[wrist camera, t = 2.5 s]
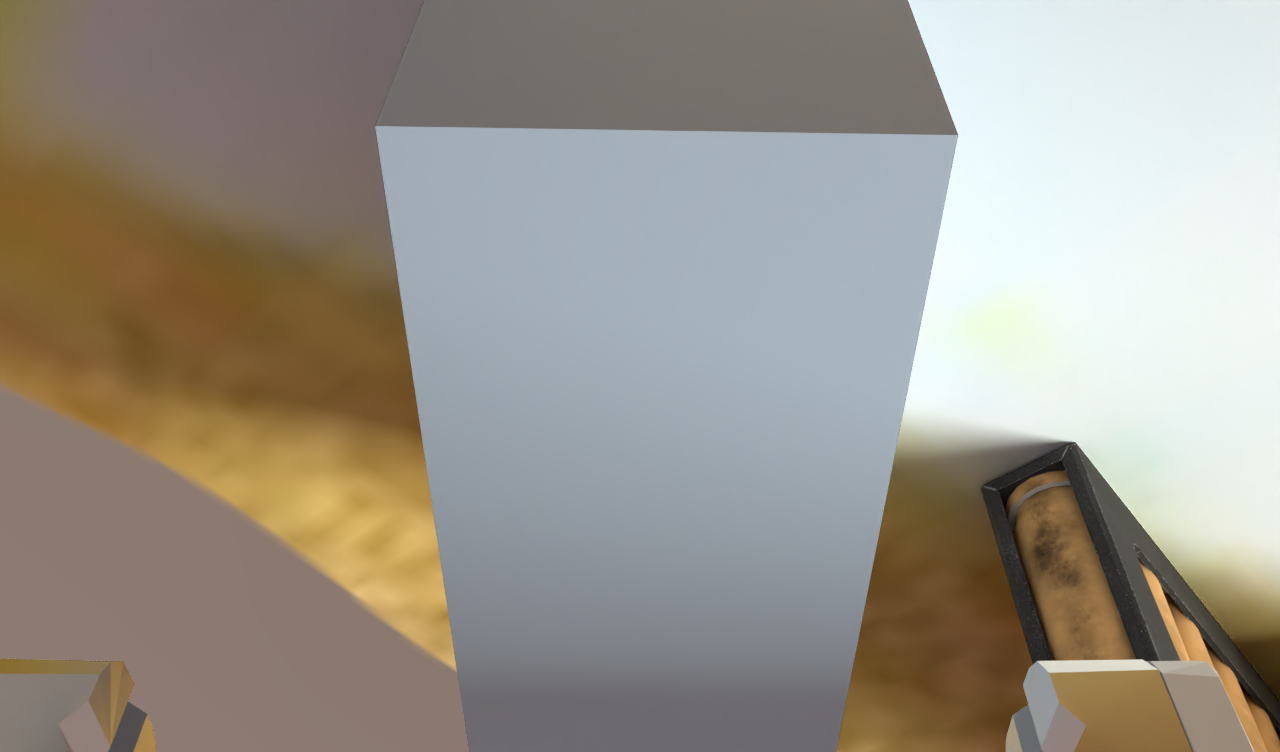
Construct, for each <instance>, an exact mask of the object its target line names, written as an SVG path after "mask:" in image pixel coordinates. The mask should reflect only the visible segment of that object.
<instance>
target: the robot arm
mask: <svg viewBox="0 0 1280 752" xmlns="http://www.w3.org/2000/svg"><path fill="white" fill-rule="evenodd" d="M133 686H134V682H133V680H132V678H131V676H130V674H129V672H128V670H127V668H126V666H125V664H124V662H123V661H84V660H83V661H82V660H34V659H6V658H5V659H4V658H2V659H1V658H0V752H156V744H155V736H154V730H153V727H152V725H151V723H150V720H149V717H148V715H147V714H146V713H145V712H143V711H142V710H140V709H139V708H137V707H135V706H134V705H133V704H131V703H130V702H128V700H129V697H130V694H131V692H132V689H133ZM1023 688H1024V691H1025V695H1026V698H1027V702H1028V705H1027V706H1025V707H1024V708H1022V709H1021V710H1019V711H1018V712H1017V713H1015V714H1014V715H1012V719H1011V722H1010V726H1009V729H1008V733H1007V736H1006V752H1254V749H1253V747H1252V745H1251V743H1250V741H1249V739H1248V737H1247V734H1246V732H1245V730H1244V728H1243V726H1242V724H1241V722H1240V719H1239V717H1238V715H1237V713H1236V711H1235V709H1234V707H1233V705H1232V702H1231V700H1230V698H1229V696H1228V694H1227V692H1226V690H1225V687H1224V685H1223V683H1222V681H1221V679H1220V677H1219V675H1218V672H1217V671H1216V670H1215V669H1214V668H1213V667H1212V666H1211V665H1210V664H1209V663H1208V662H1205V661H1147V662H1146V661H1144V660H1143V659H1139V660H1066V661H1037V662H1035V663H1034V664H1033V665H1032V666H1031V667H1030V668H1029V669H1028V672H1027V675H1026V678H1025V680H1024V683H1023Z"/></svg>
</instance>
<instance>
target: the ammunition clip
mask: <svg viewBox="0 0 1280 752" xmlns="http://www.w3.org/2000/svg"><path fill="white" fill-rule="evenodd" d="M981 491H982V494H983V497H984V501H985V504H986V507H987V511H988V514H989V518H990V521H991V524H992V528H993V531H994V534H995V538H996V541H997V544H998V548H999V551H1000V555H1001V558H1002V561H1003V565H1004V568H1005V571H1006V575H1007V578H1008V582H1009V585H1010V588H1011V592H1012V595H1013V598H1014V602H1015V605H1016V608H1017V612H1018V615H1019V619H1020V622H1021V625H1022V629H1023V632H1024V635H1025V639H1026V642H1027V646H1028V649H1029V652H1030V656H1031V659H1032V662H1033V664H1034V663H1035V662H1037V661H1066V660H1139V659H1143V660H1144V661H1146V662H1147V661H1205V662H1208V663H1209V664H1210V665H1211V666H1212V667H1213V668H1214V669H1215V670H1216V671H1217V672H1218V675H1219V677H1220V679H1221V681H1222V683H1223V685H1224V687H1225V690H1226V692H1227V694H1228V696H1229V698H1230V700H1231V702H1232V705H1233V707H1234V709H1235V711H1236V713H1237V715H1238V717H1239V719H1240V722H1241V724H1242V726H1243V728H1244V730H1245V732H1246V734H1247V737H1248V739H1249V741H1250V743H1251V745H1252V747H1253V749H1254V752H1280V701H1279V700H1278V698H1277V697H1276V696H1275V694H1274V693H1273V692H1272V691H1271V689H1270V688H1269V687H1268V686H1267V684H1266V683H1265V682H1264V681H1263V679H1262V678H1261V677H1260V675H1259V674H1258V673H1257V672H1256V670H1255V669H1254V668H1253V667H1252V665H1251V664H1250V663H1249V662H1248V660H1247V659H1246V658H1245V656H1244V655H1243V654H1242V653H1241V651H1240V650H1239V649H1238V648H1237V646H1236V645H1235V644H1234V643H1233V641H1232V640H1231V639H1230V637H1229V636H1228V635H1227V634H1226V632H1225V631H1224V630H1223V629H1222V627H1221V626H1220V625H1219V624H1218V622H1217V621H1216V620H1215V618H1214V617H1213V616H1212V615H1211V613H1210V612H1209V611H1208V610H1207V608H1206V607H1205V606H1204V605H1203V603H1202V602H1201V601H1200V599H1199V598H1198V597H1197V596H1196V594H1195V593H1194V592H1193V591H1192V589H1191V588H1190V587H1189V586H1188V584H1187V583H1186V582H1185V580H1184V579H1183V578H1182V577H1181V575H1180V574H1179V573H1178V572H1177V570H1176V569H1175V568H1174V567H1173V565H1172V564H1171V563H1170V562H1169V560H1168V559H1167V558H1166V556H1165V555H1164V554H1163V553H1162V551H1161V550H1160V549H1159V548H1158V546H1157V545H1156V544H1155V543H1154V541H1153V540H1152V539H1151V537H1150V536H1149V535H1148V534H1147V532H1146V531H1145V530H1144V529H1143V527H1142V526H1141V525H1140V524H1139V522H1138V521H1137V520H1136V518H1135V517H1134V516H1133V515H1132V513H1131V512H1130V511H1129V510H1128V508H1127V507H1126V506H1125V505H1124V503H1123V502H1122V501H1121V499H1120V498H1119V497H1118V496H1117V494H1116V493H1115V492H1114V491H1113V489H1112V488H1111V487H1110V486H1109V484H1108V483H1107V482H1106V480H1105V479H1104V478H1103V477H1102V475H1101V474H1100V473H1099V472H1098V470H1097V469H1096V468H1095V467H1094V465H1093V464H1092V463H1091V461H1090V460H1089V459H1088V458H1087V456H1086V455H1085V454H1084V453H1083V451H1082V450H1081V449H1080V448H1079V446H1078V445H1077V444H1076V443H1073V444H1071V445H1068V446H1065V447H1063V448H1061V449H1059V450H1057V451H1055V452H1053V453H1051V454H1049V455H1047V456H1045V457H1043V458H1041V459H1039V460H1037V461H1035V462H1033V463H1030V464H1028V465H1026V466H1024V467H1022V468H1020V469H1018V470H1016V471H1014V472H1012V473H1010V474H1008V475H1006V476H1004V477H1002V478H1000V479H998V480H995V481H993V482H991V483H989V484H987V485H985V486H983V487H982V488H981Z"/></svg>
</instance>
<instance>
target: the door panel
mask: <svg viewBox="0 0 1280 752" xmlns="http://www.w3.org/2000/svg"><path fill="white" fill-rule="evenodd" d="M375 130H376V136H377V143H378V149H379V156H380V163H381V169H382V176H383V183H384V189H385V196H386V203H387V209H388V216H389V222H390V229H391V236H392V242H393V249H394V256H395V262H396V269H397V275H398V282H399V289H400V295H401V302H402V309H403V315H404V322H405V329H406V335H407V342H408V348H409V355H410V362H411V368H412V375H413V382H414V388H415V395H416V402H417V408H418V415H419V421H420V428H421V435H422V441H423V448H424V455H425V461H426V468H427V475H428V481H429V488H430V494H431V501H432V508H433V514H434V521H435V528H436V534H437V541H438V547H439V554H440V561H441V567H442V574H443V581H444V587H445V594H446V601H447V607H448V614H449V620H450V627H451V634H452V640H453V647H454V654H455V660H456V667H457V674H458V680H459V686H460V693H461V700H462V707H463V713H464V720H465V727H466V733H467V740H468V746H469V752H836V749H837V744H838V739H839V734H840V729H841V724H842V719H843V714H844V709H845V704H846V699H847V694H848V689H849V684H850V679H851V673H852V668H853V663H854V658H855V653H856V648H857V643H858V638H859V633H860V628H861V623H862V618H863V613H864V608H865V603H866V598H867V593H868V588H869V583H870V578H871V572H872V567H873V562H874V557H875V552H876V547H877V542H878V537H879V532H880V527H881V522H882V517H883V512H884V507H885V502H886V497H887V492H888V487H889V482H890V476H891V471H892V466H893V461H894V456H895V451H896V446H897V441H898V436H899V431H900V426H901V421H902V416H903V411H904V406H905V401H906V396H907V391H908V386H909V381H910V375H911V370H912V365H913V360H914V355H915V350H916V345H917V340H918V335H919V330H920V325H921V320H922V315H923V310H924V305H925V300H926V295H927V290H928V285H929V279H930V274H931V269H932V264H933V259H934V254H935V249H936V244H937V239H938V234H939V229H940V224H941V219H942V214H943V209H944V204H945V199H946V194H947V189H948V183H949V178H950V173H951V168H952V163H953V158H954V153H955V148H956V143H957V138H958V134H957V131H956V128H955V126H954V123H953V120H952V118H951V115H950V112H949V110H948V107H947V104H946V102H945V99H944V96H943V93H942V91H941V88H940V85H939V83H938V80H937V77H936V75H935V72H934V69H933V67H932V64H931V61H930V59H929V56H928V53H927V51H926V48H925V45H924V43H923V40H922V37H921V35H920V32H919V29H918V27H917V24H916V21H915V19H914V16H913V13H912V11H911V8H910V5H909V3H908V0H424V2H423V4H422V7H421V9H420V12H419V15H418V17H417V20H416V22H415V25H414V27H413V30H412V33H411V35H410V38H409V40H408V43H407V45H406V48H405V50H404V53H403V56H402V58H401V61H400V63H399V66H398V68H397V71H396V74H395V76H394V79H393V81H392V84H391V86H390V89H389V91H388V94H387V97H386V99H385V102H384V104H383V107H382V109H381V112H380V115H379V117H378V120H377V122H376V125H375Z"/></svg>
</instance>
